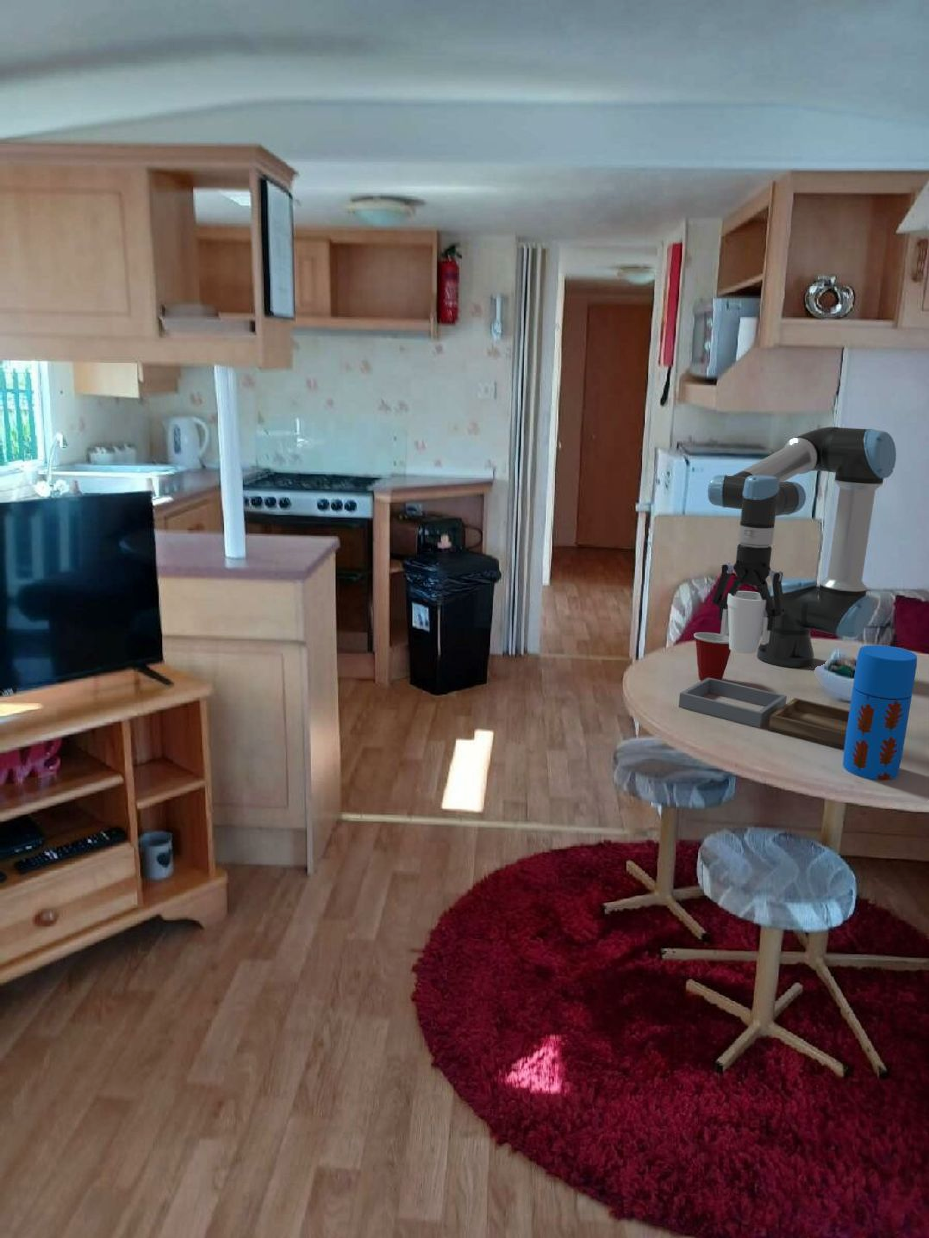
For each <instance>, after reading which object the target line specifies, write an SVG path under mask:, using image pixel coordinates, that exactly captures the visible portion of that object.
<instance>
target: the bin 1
mask: <svg viewBox="0 0 929 1238" xmlns="http://www.w3.org/2000/svg"><path fill="white" fill-rule="evenodd" d="M707 694H714V695H717V696H722V697H724V698H725V697H726V698H730V699H734V700H736V701H737V700H738V701H741V702H742V701H743V702H746V703H750V704H755V705H758V706H762V707H763V708H762V709H760V710H755V709H752V708H747V707H743V706H740V705H735V704H731V703H728V702H723V701H719V700H715V699H711V698H707V697H704V696H706V695H707ZM678 698H679V701H678V707H679V708H682V709H686V710H688V711H693V712H697V713H700V714H701V713H702V714H705V715H709V716H713V717H716V718H721V719H724V720H728V721H732V722H735V723H739V724H744V725H747V726H751V727H754V728H759V729H761V728H762V727H763V726H764V725H766V724H767V723H769V721H770V715H772V714H773V713H775V712H776V711H777V710H779V709H780V708H782V707H783V706H784V705H786V704H787V698H788V696H787V695H785V694H780V693H776V692H771V691H768V690H763V689H759V688H755V687H749V686H745V685H742V684H737V683H733V682H730V681H729V682H728V681H725V680H722V681H721V680H717V679H713V678H706V679H704V680H703V681H701V680H700V681H698V682H697V683H696V684H693V685H692V686H690V687H688V688H686V689H685V690H683V691H681V692H679V697H678Z"/></svg>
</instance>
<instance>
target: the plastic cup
mask: <svg viewBox="0 0 929 1238" xmlns="http://www.w3.org/2000/svg"><path fill="white" fill-rule="evenodd" d="M720 634H721V633H716V632H705V631H704V632H701V631H700V632H695V633H693V637H694V641H695V647H696V648H695V649H696V664H697V672H698V679H699V680H700V682H701V681H703V680H704V679H706V678H713V679H717V680H721V681H723V678H724V676H725V675H724V674H725V671H726V669H727V665H728V663H729V659H730V658H729V657H730V656H731V652H732V650H730V649H729V635H728V634H727V635H725V636H720Z"/></svg>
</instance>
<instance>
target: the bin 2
mask: <svg viewBox="0 0 929 1238" xmlns="http://www.w3.org/2000/svg"><path fill="white" fill-rule="evenodd" d="M849 711H850V709H849V710H848V709H844V708H839V707H835V706H831V705H828V704H827V705H826V704H823V703H818V702H814V701H810V700H806V699H802V698H797V697H794V698H793V699H792V700H790V701H789V702H786V705H784V706H783V707H782V708H780V709H779V710H777V711H776V712H775V713H773V714H772V715H770V721H769V722H768V731H769V732H770V731H771V732H774V733H778V734H782V735H784V736H790V737H793V738H796V739H797V738H798V739H801V740H805V741H809V742H812V743H817V744H821V745H824V746H826V747H827V746H829V747H831V748H835V749H840V750H843V751H844V745H845V738H846V732H847V725H848V718H849Z"/></svg>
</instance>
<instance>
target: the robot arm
mask: <svg viewBox="0 0 929 1238" xmlns="http://www.w3.org/2000/svg"><path fill="white" fill-rule="evenodd" d="M896 449H897V448H896V444H895V441H894V439H893V437H892V435H891V434H890V433H888V432H887V431H886V430H885V431H884V430H878V429H873V428H854V427H853V428H852V427H838V426H826V427H822V428H821V427H820V428H818V429H817V428H816V429H813V430H811V431H807V432H805V433H802V434H800V435H797V436H795V437H794V438H792V439H790V440H789V441H787V443H786V444H785V445H784V446H783V448H781V449H780V450H778V451H776V452H774V453H772V454H770V455H769V456H767V457H764V458H763V459H761V460H759V461H757V462H756V463H753V464H751V465H750V466H748V467H746V468H744V469H743V470H740V471H739V472H737V473H735V474H733V475H727V474H718V475H715V476H713V478H711V479H710V481H709V484H708V487H707V498H708V501H709V503H711V504H712V505H714V506H717V507H722V508H728V509H737V510H741V512H740V513H741V514H740V523H739V529H738V530H739V532H738V538H737V539H738V540H737V541H738V542H739V543H738V544H737V547H736V556H735V557H736V559H735V560H736V561H735V563H734V564H731V563H728V562H727V563H724V564H722V565H721V575H720V578H719V581H718V584H717V587H716V589H715V592H714V595H713V597H712V600H711V603H712V604H713V605H716V606H717V607H719V609H718V610H719V611H718V622H721V625H720V633H719V634H720V636H725V635H727V636H728V635H729V623H728V605H727V599H728V593H730V594H731V595H732V596H734V595H735V594H736V593H737V591H740V588H741V587H742V586H743V585H750V586H752V587H756V589H757V591H758V593H760V596H761V598H762V600H763V599H764V600H766V606H765V609H766V612H767V615H766V616H765V617H764V624H763V630H762V634H761V640H760V642H759V646H758V649H757V652H756V657H757V658H758V660H760V661H762V662H764V663H767V664H771V665H775V666H781V667H785V668H786V667H789V668H800V667H801V668H803V667H809V666H811V665H813V664H814V660H815V653H814V649H813V645H812V644H813V643H812V640H811V631H812V630H813V631H819V632H823V633H827V634H831V635H835V636H837V637H845V638H846V637H847V638H856V637H858V636H859V635H861V634H862V632H864V630H865V629H866V627H867V626H868V624H869V622H870V621H871V617H872V614H873V611H874V601H873V598H872V597H870V596H869V595H867V590H868V587H867V586H866V584H865V583H864V582H863V574H864V568H865V563H866V555H867V548H868V542H869V534H870V529H871V528H870V527H871V522H872V516H873V509H874V502H875V501H874V500H875V495H876V490H877V489H878V488H880V487H881V486H883V484H884V479H888V478H889V477H890V476H892V473H894V468H895V466H896V461H897V450H896ZM811 471H813V472H814V471H815V472H816V471H817V472H825V473H826V472H828V473H835V474H834V482H835V483H836V485H837V486H838V487H839V489H838V490H839V491H838V499H837V505H836V513H835V521H834V527H833V534H832V542H831V549H830V556H829V563H828V569H827V577H826V578H824V579H823V580H822V581H820V584H819V586H818V581H817V580H816V579H813V578H809V577H808V578H807V577H790V578H789V577H787V578H783V577H784V573H783V572H782V571H778V572H777V571H774V570H771V558H772V552H773V551H772V550H773V548H772V546H771V545H772V544H773V541H774V531H775V523H776V517H777V516H778V517H779V516H790V515H792V514H794V513H797V512H799V511H800V510H802V508H803V507H804V506H805V503H806V500H807V496H806V495H807V493H806V490H805V488H804V487H803V486H802V485H801V483H798V482H796V481H788V480H790V479H791V478H793V477H795V476H797V475H804V474H808V473H810V472H811ZM733 571H734V572H735V575H736V578H735V580H734V581H733V583H732V585H731V586H730V588H729V590H727V592H726V594H724V593H725V591H726V588H727V585H728V582H729V581H730V578H731V574H732V573H733ZM769 577H770V581H772V582H771V583H772V584H771V590H770V589H769V587H768V581H767V578H769ZM769 590H770V591H769Z"/></svg>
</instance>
